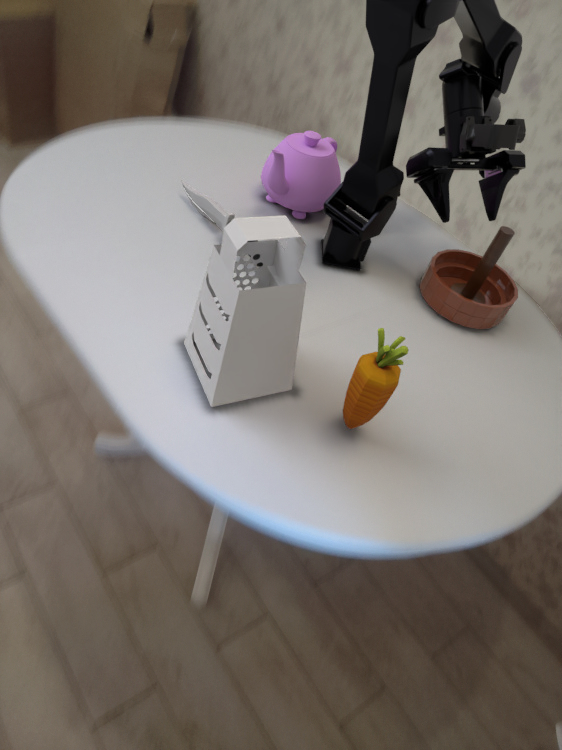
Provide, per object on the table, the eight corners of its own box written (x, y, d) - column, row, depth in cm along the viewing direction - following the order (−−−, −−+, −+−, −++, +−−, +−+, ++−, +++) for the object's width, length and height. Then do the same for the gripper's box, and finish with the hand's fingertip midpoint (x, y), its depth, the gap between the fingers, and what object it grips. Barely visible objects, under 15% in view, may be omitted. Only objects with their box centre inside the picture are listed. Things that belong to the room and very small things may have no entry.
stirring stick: (451, 307, 81) (493, 238, 71) (444, 284, 85) (483, 215, 75) (486, 314, 82) (533, 246, 72) (477, 290, 86) (520, 223, 76)
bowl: (426, 323, 78) (440, 298, 74) (412, 267, 87) (424, 242, 84) (511, 338, 80) (529, 314, 76) (488, 281, 89) (503, 258, 86)
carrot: (326, 409, 62) (367, 318, 51) (364, 411, 63) (412, 323, 52) (332, 443, 59) (377, 354, 48) (372, 445, 60) (425, 359, 49)
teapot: (290, 241, 85) (308, 169, 76) (227, 200, 89) (237, 128, 80) (353, 205, 97) (375, 140, 88) (295, 171, 101) (310, 106, 92)
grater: (183, 343, 65) (198, 199, 50) (259, 331, 69) (293, 196, 54) (211, 407, 59) (236, 266, 44) (291, 389, 63) (338, 256, 49)
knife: (175, 193, 87) (177, 165, 83) (184, 192, 88) (187, 164, 84) (259, 281, 76) (265, 253, 72) (268, 278, 77) (275, 251, 73)
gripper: (451, 87, 67) (459, 210, 68) (554, 97, 74) (558, 208, 75) (400, 120, 77) (407, 227, 79) (494, 126, 84) (499, 223, 86)
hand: (469, 221), depth 79 cm, fingers open, 9 cm apart
